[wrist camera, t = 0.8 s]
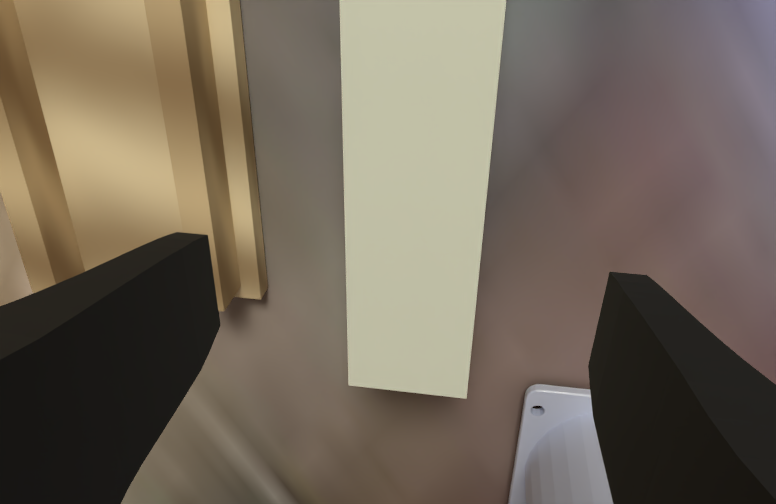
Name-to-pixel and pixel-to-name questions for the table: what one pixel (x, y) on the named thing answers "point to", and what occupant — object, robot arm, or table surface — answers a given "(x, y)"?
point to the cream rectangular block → (416, 184)
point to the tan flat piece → (128, 135)
